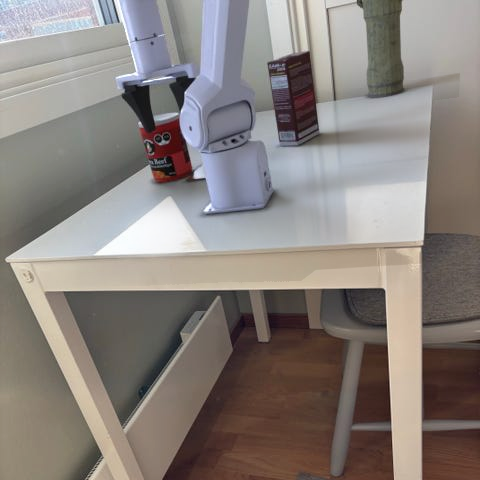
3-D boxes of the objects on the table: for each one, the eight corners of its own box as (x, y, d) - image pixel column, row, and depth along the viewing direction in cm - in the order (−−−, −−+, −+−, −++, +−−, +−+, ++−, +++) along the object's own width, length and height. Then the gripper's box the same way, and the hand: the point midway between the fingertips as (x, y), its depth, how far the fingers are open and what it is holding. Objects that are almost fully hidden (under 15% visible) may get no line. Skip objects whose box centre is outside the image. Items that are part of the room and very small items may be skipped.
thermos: (364, 93, 136) (355, -68, 118) (411, 86, 131) (408, -82, 113) (359, 100, 129) (348, -69, 111) (408, 93, 124) (404, -84, 106)
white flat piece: (249, 159, 100) (249, 157, 99) (237, 175, 91) (236, 173, 91) (202, 165, 103) (202, 164, 102) (186, 181, 94) (186, 180, 94)
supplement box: (301, 134, 109) (291, 53, 101) (320, 134, 106) (311, 50, 98) (278, 146, 104) (265, 61, 96) (297, 146, 101) (286, 58, 93)
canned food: (146, 181, 100) (129, 124, 95) (176, 168, 105) (162, 112, 99) (170, 184, 95) (154, 123, 90) (201, 170, 100) (187, 111, 94)
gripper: (94, 50, 78) (122, 140, 85) (173, 33, 72) (196, 131, 79) (120, 44, 83) (144, 129, 90) (196, 27, 77) (215, 120, 84)
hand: (170, 129), depth 85 cm, fingers open, 7 cm apart
